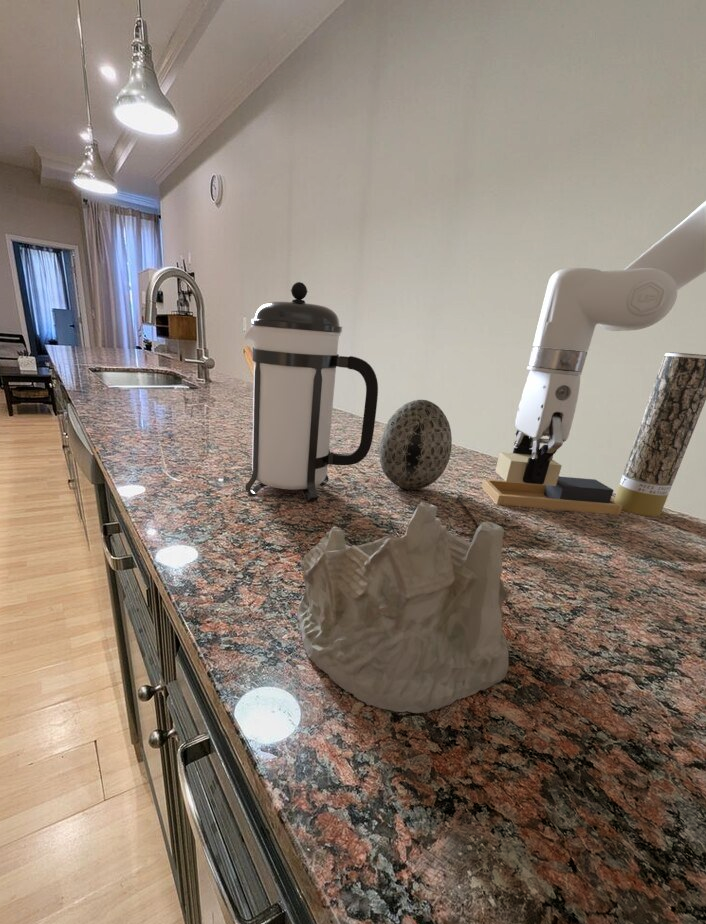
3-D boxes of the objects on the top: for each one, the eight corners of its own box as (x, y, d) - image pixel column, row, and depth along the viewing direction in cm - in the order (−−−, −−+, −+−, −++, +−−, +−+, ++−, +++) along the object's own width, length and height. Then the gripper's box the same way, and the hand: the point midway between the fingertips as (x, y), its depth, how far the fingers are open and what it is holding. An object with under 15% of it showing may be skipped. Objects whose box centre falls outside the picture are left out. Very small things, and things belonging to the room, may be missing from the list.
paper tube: (666, 515, 74) (729, 357, 65) (649, 522, 70) (713, 355, 61) (622, 502, 79) (675, 353, 70) (604, 507, 75) (657, 351, 66)
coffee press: (267, 512, 62) (276, 271, 51) (229, 477, 75) (229, 277, 64) (368, 498, 71) (394, 288, 59) (318, 469, 83) (332, 291, 72)
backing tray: (590, 499, 79) (594, 488, 78) (618, 518, 71) (623, 505, 71) (480, 489, 79) (483, 478, 79) (496, 507, 71) (499, 495, 71)
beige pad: (541, 475, 76) (547, 456, 75) (555, 486, 71) (562, 465, 70) (495, 471, 77) (499, 451, 75) (506, 481, 71) (511, 460, 70)
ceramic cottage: (539, 681, 35) (580, 497, 30) (345, 740, 29) (354, 526, 24) (427, 587, 48) (441, 450, 43) (280, 615, 43) (278, 462, 38)
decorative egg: (380, 473, 84) (391, 392, 78) (443, 483, 81) (459, 399, 76) (369, 492, 73) (381, 400, 68) (442, 504, 71) (460, 409, 65)
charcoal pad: (589, 498, 78) (595, 479, 76) (606, 510, 73) (613, 490, 71) (543, 494, 78) (548, 475, 76) (557, 506, 73) (563, 485, 71)
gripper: (613, 369, 59) (572, 497, 66) (555, 360, 75) (527, 464, 82) (556, 364, 59) (522, 492, 66) (510, 357, 75) (486, 460, 82)
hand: (525, 475), depth 74 cm, fingers closed on beige pad, 5 cm apart
